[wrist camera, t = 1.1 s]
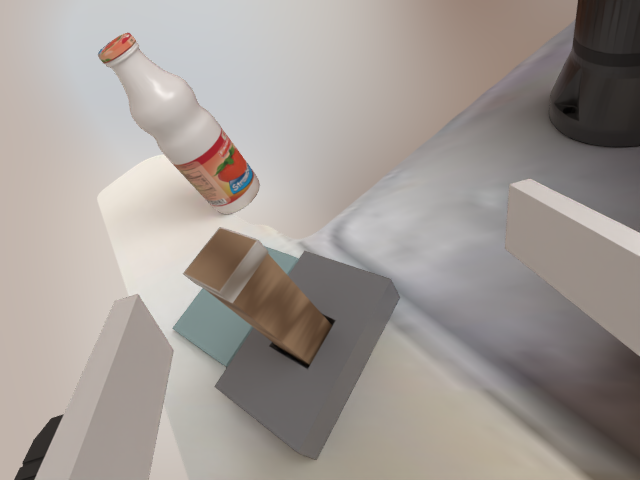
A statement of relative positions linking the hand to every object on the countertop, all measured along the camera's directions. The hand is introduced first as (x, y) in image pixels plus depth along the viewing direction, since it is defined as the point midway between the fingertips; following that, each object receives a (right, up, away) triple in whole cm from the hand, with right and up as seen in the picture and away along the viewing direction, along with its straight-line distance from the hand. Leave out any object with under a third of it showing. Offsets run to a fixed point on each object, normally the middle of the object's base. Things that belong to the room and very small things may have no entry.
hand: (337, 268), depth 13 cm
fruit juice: (-15, +9, +52) cm, 55 cm away
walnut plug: (-1, -11, +27) cm, 29 cm away
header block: (-1, -11, +28) cm, 30 cm away
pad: (-12, -7, +37) cm, 40 cm away
